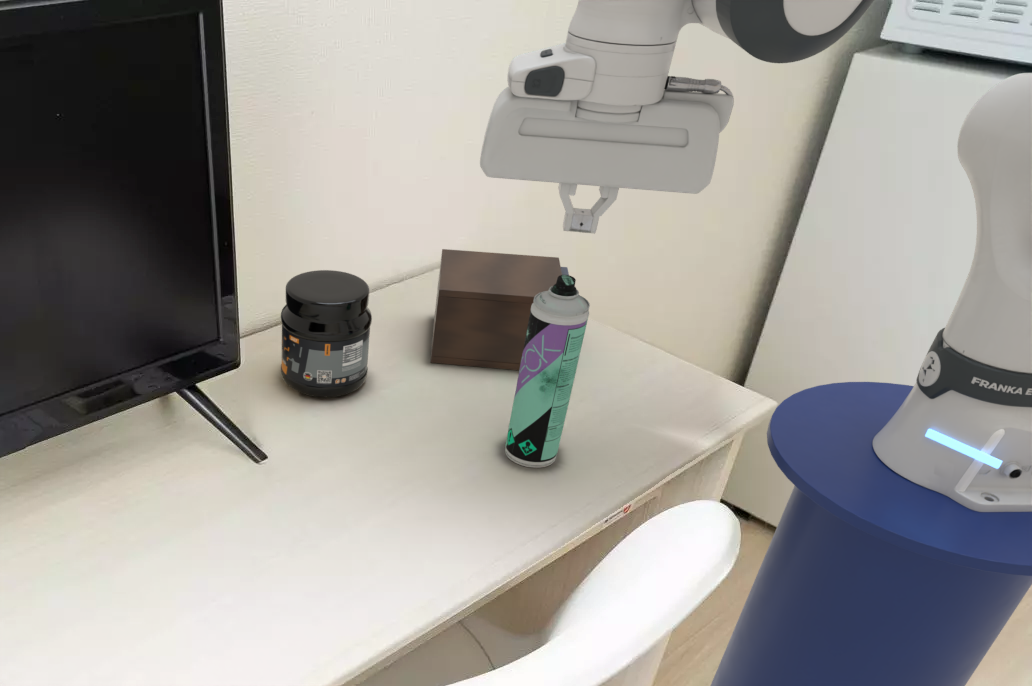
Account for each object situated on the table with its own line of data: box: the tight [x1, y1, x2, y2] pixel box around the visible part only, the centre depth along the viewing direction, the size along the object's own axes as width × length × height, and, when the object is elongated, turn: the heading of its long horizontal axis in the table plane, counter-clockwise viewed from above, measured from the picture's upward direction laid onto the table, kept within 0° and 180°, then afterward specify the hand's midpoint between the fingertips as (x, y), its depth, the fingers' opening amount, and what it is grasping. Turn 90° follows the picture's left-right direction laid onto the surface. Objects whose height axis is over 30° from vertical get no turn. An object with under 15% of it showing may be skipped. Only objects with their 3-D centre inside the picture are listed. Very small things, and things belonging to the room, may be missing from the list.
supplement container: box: [280, 269, 373, 398], centre depth 109 cm, size 10×10×12 cm
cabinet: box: [430, 248, 562, 371], centre depth 117 cm, size 15×13×10 cm
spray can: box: [504, 274, 591, 469], centre depth 94 cm, size 6×6×20 cm
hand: (578, 230), depth 88 cm, fingers closed
